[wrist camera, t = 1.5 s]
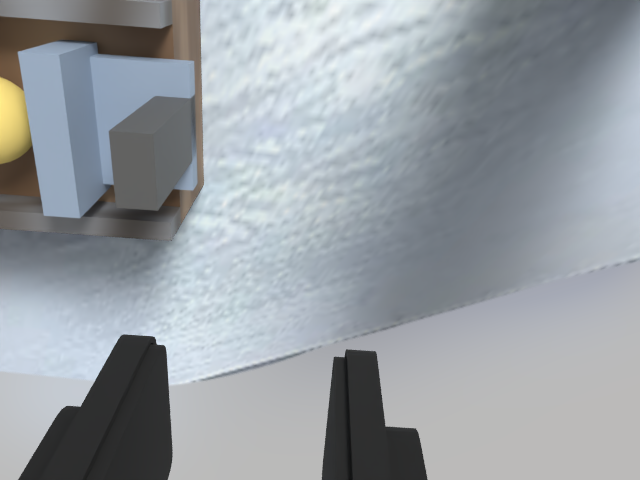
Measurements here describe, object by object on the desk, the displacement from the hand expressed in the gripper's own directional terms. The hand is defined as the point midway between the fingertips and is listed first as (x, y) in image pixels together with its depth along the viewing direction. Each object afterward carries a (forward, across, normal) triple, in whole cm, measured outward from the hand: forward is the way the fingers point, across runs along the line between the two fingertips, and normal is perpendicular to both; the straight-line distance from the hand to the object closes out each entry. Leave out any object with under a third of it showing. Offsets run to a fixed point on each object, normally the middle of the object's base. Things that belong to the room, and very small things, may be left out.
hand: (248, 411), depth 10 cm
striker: (+19, +8, 0) cm, 21 cm away
